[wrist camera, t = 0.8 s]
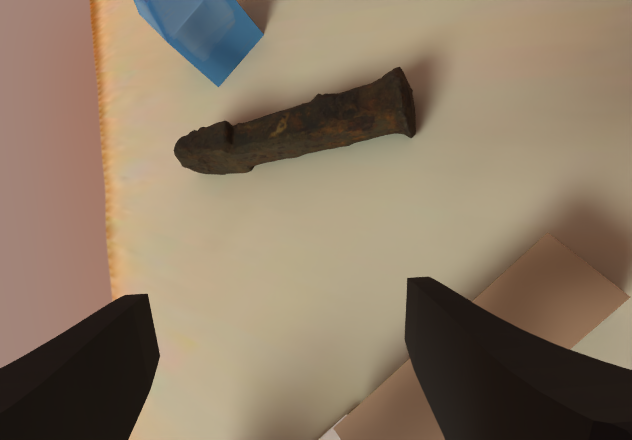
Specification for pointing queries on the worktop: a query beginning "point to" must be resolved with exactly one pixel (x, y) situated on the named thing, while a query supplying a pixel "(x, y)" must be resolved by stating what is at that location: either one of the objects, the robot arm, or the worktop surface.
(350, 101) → the hand tool
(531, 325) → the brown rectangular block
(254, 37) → the perfume bottle
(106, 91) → the worktop surface
